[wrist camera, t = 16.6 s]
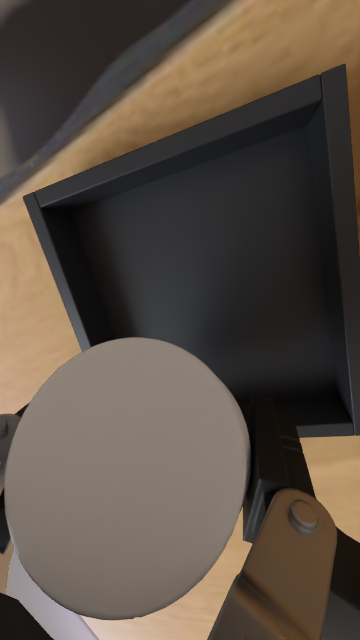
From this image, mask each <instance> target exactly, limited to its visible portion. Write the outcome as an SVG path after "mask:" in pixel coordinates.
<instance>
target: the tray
mask: <svg viewBox="0 0 360 640" xmlns="http://www.w3.org/2000/svg"><path fill="white" fill-rule="evenodd" d="M23 200H24V202H25V205H26V207H27V210H28V213H29V215H30V218H31V220H32V223H33V226H34V228H35V231H36V233H37V236H38V239H39V241H40V244H41V246H42V249H43V251H44V254H45V257H46V259H47V262H48V264H49V267H50V270H51V272H52V275H53V277H54V280H55V283H56V285H57V288H58V290H59V293H60V295H61V298H62V301H63V303H64V306H65V308H66V311H67V314H68V316H69V319H70V321H71V324H72V327H73V329H74V332H75V334H76V337H77V339H78V342H79V345H80V347H81V350H82V352H83V351H85V350H87V349H89V348H91V347H93V346H96V345H98V344H101V343H104V342H107V341H112V340H116V339H123V338H131V337H141V338H150V339H157V340H161V341H165V342H168V343H171V344H173V345H176V346H178V347H180V348H182V349H184V350H186V351H187V352H189V353H191V354H192V355H194V356H196V357H197V358H198V359H199V360H201V361H202V362H203V363H204V364H205V365H206V366H208V367H209V369H210V370H211V371H212V372H213V373H214V374H215V375H216V376H217V377H218V378H219V379H220V380H221V381H222V382H223V384H224V385H225V386H226V387H227V388H228V390H229V391H230V392H231V394H232V395H233V397H234V398H235V400H236V402H237V403H238V405H239V407H240V409H241V412H242V414H243V417H244V420H245V423H246V419H247V415H248V410H249V406H250V401H251V397H252V395H253V394H254V395H259V396H264V397H269V398H273V399H274V403H275V408H276V413H277V414H281V415H286V416H288V417H289V419H290V420H291V421H292V423H293V424H294V425H295V426H296V428H297V432H298V435H299V438H305V437H332V436H354V435H356V436H358V435H360V256H359V242H358V228H357V214H356V200H355V186H354V172H353V158H352V144H351V130H350V116H349V102H348V89H347V75H346V64H342V65H340V66H337V67H335V68H333V69H330V70H328V71H325V72H323V73H321V75H316V76H314V77H311V78H309V79H306V80H304V81H301V82H299V83H297V84H294V85H292V86H289V87H287V88H284V89H282V90H280V91H277V92H275V93H272V94H270V95H267V96H265V97H263V98H260V99H258V100H255V101H253V102H250V103H248V104H246V105H243V106H241V107H238V108H236V109H234V110H231V111H229V112H226V113H224V114H221V115H219V116H217V117H214V118H212V119H209V120H207V121H204V122H202V123H200V124H197V125H195V126H192V127H190V128H187V129H185V130H183V131H180V132H178V133H175V134H173V135H170V136H168V137H166V138H163V139H161V140H158V141H156V142H153V143H151V144H149V145H146V146H144V147H141V148H139V149H136V150H134V151H132V152H129V153H127V154H124V155H122V156H120V157H117V158H115V159H112V160H110V161H107V162H105V163H103V164H100V165H98V166H95V167H93V168H90V169H88V170H86V171H83V172H81V173H78V174H76V175H73V176H71V177H69V178H66V179H64V180H61V181H59V182H56V183H54V184H52V185H49V186H47V187H44V188H42V189H39V190H37V191H35V192H32V193H30V194H28V195H25V196H23Z"/></svg>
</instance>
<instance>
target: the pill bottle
mask: <svg viewBox="0 0 360 640" xmlns="http://www.w3.org/2000/svg"><path fill="white" fill-rule="evenodd" d="M250 475H251V446H250V439H249V434H248V430H247V426H246V423H245V420H244V417H243V414H242V412H241V409H240V407H239V405H238V403H237V402H236V400H235V398H234V397H233V395H232V394H231V392H230V391H229V390H228V388H227V387H226V386H225V385H224V384H223V382H222V381H221V380H220V379H219V378H218V377H217V376H216V375H215V374H214V373H213V372H212V371H211V370H210V369H209V367H208V366H206V365H205V364H204V363H203V362H202V361H201V360H199V359H198V358H197V357H196V356H194V355H192V354H191V353H189V352H187V351H186V350H184V349H182V348H180V347H178V346H176V345H173V344H171V343H168V342H165V341H161V340H157V339H150V338H141V337H131V338H123V339H116V340H112V341H107V342H104V343H101V344H98V345H96V346H93V347H91V348H89V349H87V350H85V351H83V352H81V353H80V354H78V355H76V356H75V357H73V358H72V359H70V360H69V361H67V362H66V363H65V364H63V365H62V366H61V367H59V368H58V369H57V370H56V371H55V372H54V373H53V374H52V375H51V376H50V377H49V378H48V380H47V381H46V382H45V383H44V384H43V385H42V386H41V388H40V389H39V390H38V392H37V393H36V395H35V396H34V397H33V399H32V400H31V402H30V403H29V405H28V407H27V408H26V410H25V412H24V414H23V416H22V418H21V420H20V422H19V424H18V427H17V429H16V432H15V434H14V437H13V440H12V443H11V447H10V451H9V455H8V459H7V464H6V471H5V484H4V497H5V514H6V519H7V524H8V528H9V533H10V536H11V539H12V542H13V545H14V548H15V550H16V553H17V555H18V558H19V560H20V561H21V563H22V565H23V567H24V568H25V570H26V571H27V573H28V574H29V576H30V577H31V578H32V580H33V581H34V582H35V583H36V584H37V585H38V586H39V587H40V589H41V590H42V591H43V592H44V593H45V594H47V595H48V596H49V597H50V598H51V599H52V600H54V601H55V602H56V603H58V604H59V605H61V606H63V607H65V608H66V609H69V610H70V611H73V612H75V613H77V614H79V615H83V616H86V617H91V618H96V619H101V620H123V619H133V618H135V617H143V616H145V615H148V614H151V613H153V612H156V611H158V610H161V609H163V608H166V607H167V606H169V605H170V604H172V603H174V602H175V601H177V600H178V599H180V598H181V597H183V596H184V595H185V594H186V593H188V592H189V591H190V590H191V589H192V588H193V587H194V586H195V585H196V584H197V583H199V582H200V581H201V580H202V579H203V577H204V576H205V575H206V574H207V573H208V571H209V570H210V569H211V568H212V566H213V565H214V564H215V562H216V561H217V559H218V558H219V556H220V555H221V553H222V552H223V550H224V548H225V546H226V544H227V542H228V540H229V539H230V537H231V535H232V532H233V530H234V527H235V524H236V522H237V519H238V516H239V513H240V511H241V509H242V506H243V504H244V501H245V498H246V495H247V492H248V487H249V482H250Z"/></svg>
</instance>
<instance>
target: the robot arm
mask: <svg viewBox="0 0 360 640" xmlns="http://www.w3.org/2000/svg"><path fill="white" fill-rule="evenodd" d="M29 403H30V402H29ZM29 403H28V404H27V405H26V406H24V407H23V408H22V409H21V410H19V411H18V412H17V413H16V414H1V415H0V640H54V639H53V638H51V637H50V636H49V634H48V633H47V632H46V631H45V630H44V629H43V628H42V627H41V625H40V624H39V623H38V622H37V621H36V620H35V619H34V618H33V616H32V615H31V614H30V613H29V612H28V611H27V610H26V609H25V607H24V606H23V605H22V604H21V603H20V602H19V601H18V600H17V599H15V598H12V597H10V596H8V595H5V593H6V587H7V578H8V569H9V564H10V560H11V557H12V553H13V551H14V545H13V542H12V539H11V536H10V533H9V528H8V524H7V519H6V514H5V497H4V484H5V471H6V464H7V459H8V455H9V451H10V447H11V443H12V440H13V437H14V434H15V432H16V429H17V427H18V424H19V422H20V420H21V418H22V416H23V414H24V412H25V410H26V408H27V407H28V405H29ZM246 426H247V430H248V434H249V439H250V446H251V475H250V482H249V487H248V492H247V495H246V498H245V501H244V504H243V540H244V541H247V542H250V543H253V544H252V547H251V549H250V551H249V554H248V556H247V558H246V561H245V563H244V565H243V567H242V570H241V572H240V573H239V575H237V576H236V578H235V579H234V581H233V583H232V585H231V588H230V590H229V592H228V594H227V596H226V599H225V601H224V603H223V605H222V608H221V610H220V612H219V614H218V617H217V619H216V621H215V623H214V626H213V628H212V630H211V632H210V635H209V637H208V639H207V640H360V543H359V542H357V541H356V540H354V539H352V538H351V537H349V536H347V535H346V534H345V533H343V532H342V531H341V530H339V529H338V528H337V527H336V526H335V523H334V521H333V519H332V517H331V516H330V514H329V512H328V511H327V510H326V509H325V507H324V506H323V505H322V504H321V503H320V502H319V501H317V499H316V497H315V493H314V489H313V486H312V482H311V479H310V475H309V471H308V468H307V464H306V461H305V457H304V453H303V450H302V446H301V443H300V439H299V435H298V432H297V428H296V426H295V425H294V424H293V423H292V421H291V420H290V419H289V417H288V416H286V415H281V414H277V413H276V408H275V403H274V399H273V398H269V397H264V396H259V395H254V394H253V395H252V397H251V401H250V406H249V410H248V415H247V419H246Z"/></svg>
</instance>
